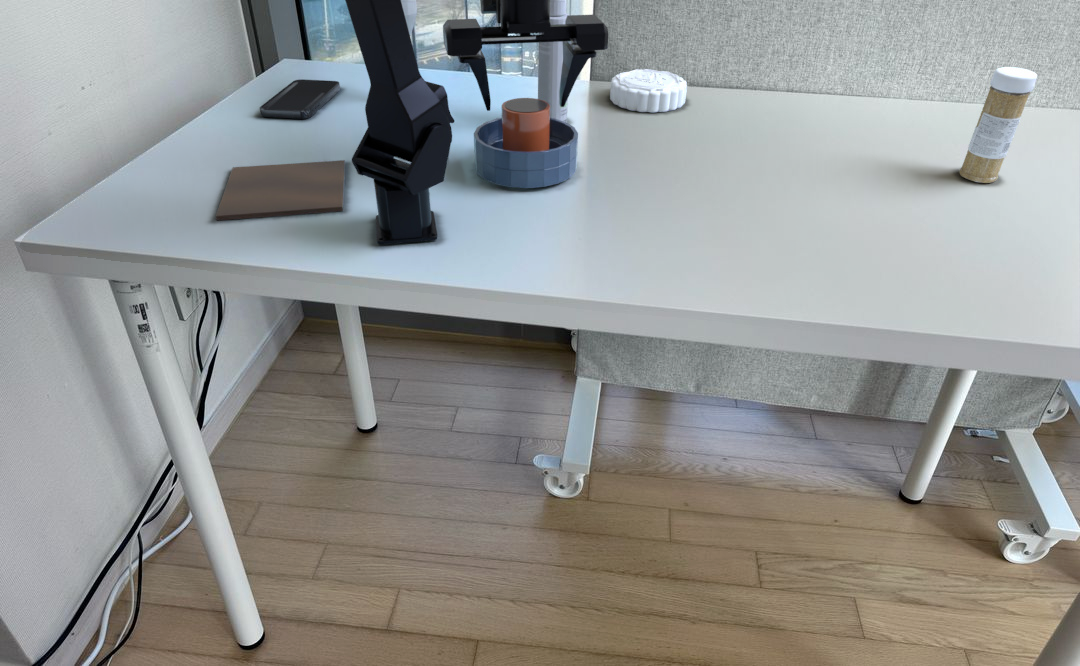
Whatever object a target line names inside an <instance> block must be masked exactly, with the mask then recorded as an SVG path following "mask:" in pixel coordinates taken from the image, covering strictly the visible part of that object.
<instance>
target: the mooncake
mask: <svg viewBox="0 0 1080 666" xmlns="http://www.w3.org/2000/svg"><path fill="white" fill-rule="evenodd" d="M687 90H688V82H687V81H686V80H685V79H684V78H683V77H681V76H679V75H678V74H676V73H672V72H670V71H666V70H665V71H663V70H656V69H650V68H646V69H641V68H640V69H639V68H636V69H633V70H630V71H624V72H619V73H618V74H615V76H613V77H612V78H611V80H610V92H609V93H610V94H609V99H610V101H611V102H612V104H613V105H615V106H618V107H619V108H621V109H626V110H628V111H633V112H635V111H636V112H639V113H650V114H651V113H655V114H656V113H666V112H669V111H670V112H671V111H675V110H676V109H680V108H681V107H683V105H685V103H686V100H687V99H686V98H687Z"/></svg>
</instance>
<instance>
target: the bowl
mask: <svg viewBox="0 0 1080 666" xmlns="http://www.w3.org/2000/svg"><path fill="white" fill-rule="evenodd" d="M578 143H579V132H578V130H577V129H576V127H574V126H573V125H571V124H570V123H568V122H564V121H561V120H558V119H554V118H550V149H549V150H544V151H531V152H522V151H509V150H504V149H502V117H497V118H493V119H490V120H488V121H485V122H483V123H481V124H480V125H479V126H477V127H476V128H475V130H474V132H473V150H474V152H473V153H474V168H475V171H476V174H477V175H478V176H479V177H481V178H482V179H483V180H485V181H486V182H489V183H492V184H495V185H497V186H503V187H507V188H519V189H520V188H521V189H534V188H545V187H549V186H553V185H558V184H561V183H562V182H565V181H567V180H570V178H572V176H574V175H575V174H576V171H577V166H578V148H579V146H578V145H579V144H578Z"/></svg>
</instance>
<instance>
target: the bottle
mask: <svg viewBox="0 0 1080 666" xmlns="http://www.w3.org/2000/svg"><path fill="white" fill-rule="evenodd" d="M567 15H570V14H569V13H568V12H567V0H550V23H551V25H556V24H565V21H566V18H567ZM537 35H542V33H540V34H539V33H537ZM562 42H563V41H562ZM562 42H537V46H538V47H537V55H538V56H537V63H538V64H537V99H540V100H543V101H546V102H548V103H549V104H550V118H554V119H558V120H561V121H564V122H566V123H568V99H569V98H568V99H567V101H566V104H565V106H564V107H561V106H560V104H559V90H560V81H561V72H562V64H563V43H562Z"/></svg>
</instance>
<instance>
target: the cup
mask: <svg viewBox="0 0 1080 666" xmlns="http://www.w3.org/2000/svg"><path fill="white" fill-rule="evenodd" d="M501 118H502V149H504V150H509V151H522V152H531V151H544V150H549V149H550V104H549V103H548V102H546V101H543V100H540V99H538V98H534V97H518V98H512V99H508V100H506V101H504V102H502V104H501Z"/></svg>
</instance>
